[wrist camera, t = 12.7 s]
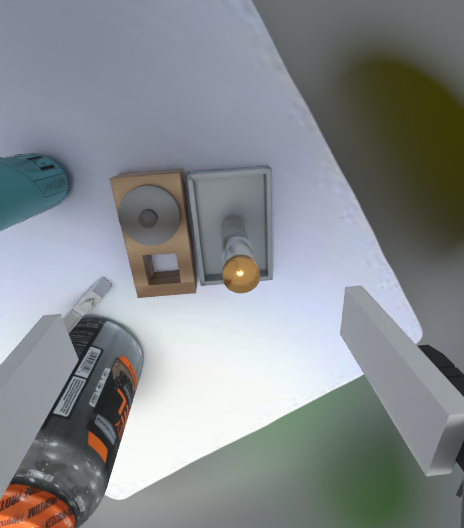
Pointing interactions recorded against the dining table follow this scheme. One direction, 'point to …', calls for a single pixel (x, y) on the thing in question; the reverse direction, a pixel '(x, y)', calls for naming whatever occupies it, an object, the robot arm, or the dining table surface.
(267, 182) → the tray
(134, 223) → the pulley block
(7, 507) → the supplement tub
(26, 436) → the robot arm
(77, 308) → the lighter
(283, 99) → the dining table surface
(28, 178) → the beverage bottle
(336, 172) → the dining table surface
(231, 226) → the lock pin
